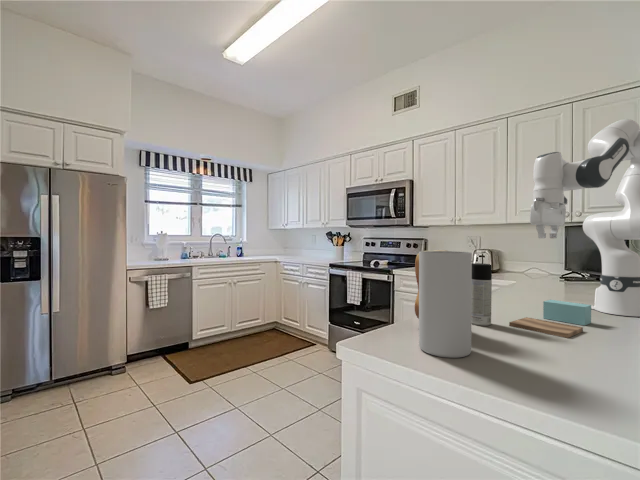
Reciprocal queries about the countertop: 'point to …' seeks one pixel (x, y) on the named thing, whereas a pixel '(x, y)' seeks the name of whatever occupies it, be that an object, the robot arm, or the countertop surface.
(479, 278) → the spray can
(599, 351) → the countertop surface
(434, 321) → the cylinder vase
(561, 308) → the pale blue tall prism
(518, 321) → the board
